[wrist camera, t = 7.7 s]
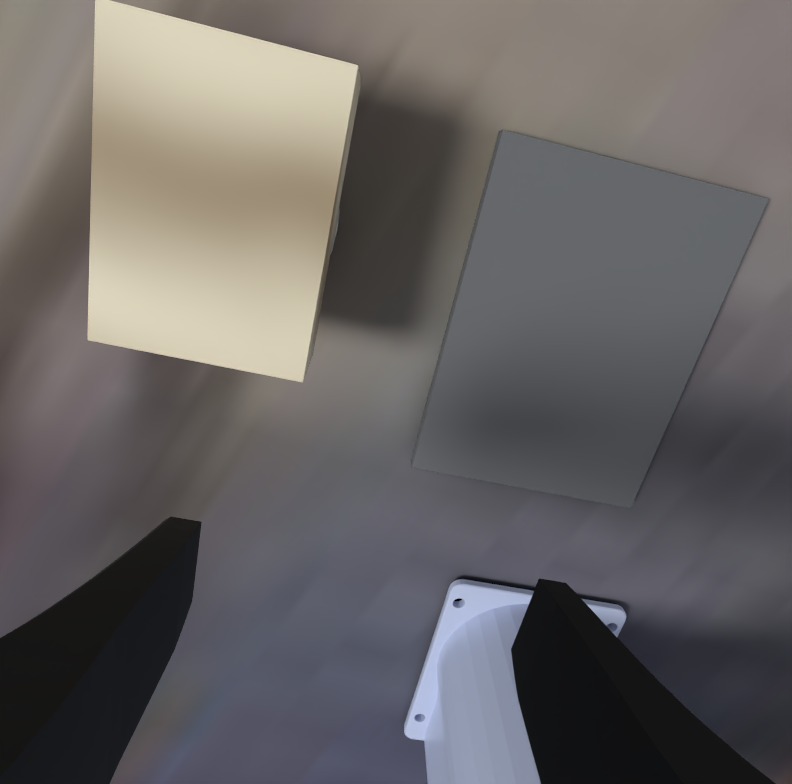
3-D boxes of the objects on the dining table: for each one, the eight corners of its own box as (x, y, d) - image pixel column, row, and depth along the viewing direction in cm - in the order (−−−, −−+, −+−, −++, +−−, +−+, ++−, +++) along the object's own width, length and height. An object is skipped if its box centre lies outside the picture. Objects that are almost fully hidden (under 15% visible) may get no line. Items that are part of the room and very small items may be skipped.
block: (312, 354, 17) (302, 382, 15) (127, 317, 16) (87, 339, 14) (361, 81, 14) (358, 65, 12) (141, 25, 14) (95, -4, 11)
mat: (624, 500, 23) (630, 508, 22) (411, 460, 22) (411, 467, 21) (757, 197, 18) (769, 198, 18) (499, 130, 18) (503, 129, 17)
